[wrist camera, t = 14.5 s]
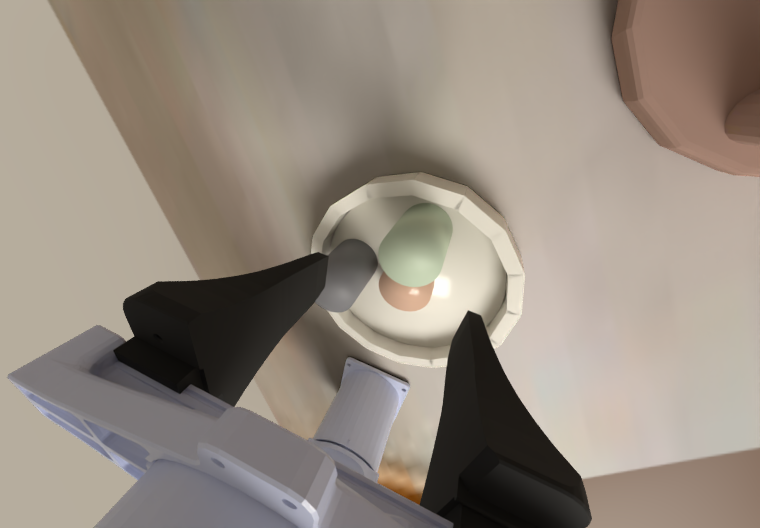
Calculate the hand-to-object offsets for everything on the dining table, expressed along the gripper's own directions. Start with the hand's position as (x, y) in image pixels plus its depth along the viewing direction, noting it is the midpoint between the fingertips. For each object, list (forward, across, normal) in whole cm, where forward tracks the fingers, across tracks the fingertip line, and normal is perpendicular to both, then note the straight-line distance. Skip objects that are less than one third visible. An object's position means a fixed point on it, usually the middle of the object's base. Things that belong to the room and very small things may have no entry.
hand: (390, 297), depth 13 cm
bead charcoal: (+9, +5, +5) cm, 11 cm away
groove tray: (+10, 0, +5) cm, 11 cm away
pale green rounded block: (+9, 0, 0) cm, 9 cm away
